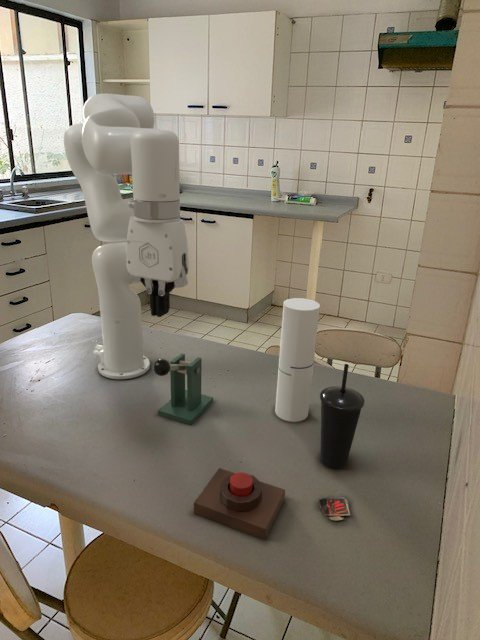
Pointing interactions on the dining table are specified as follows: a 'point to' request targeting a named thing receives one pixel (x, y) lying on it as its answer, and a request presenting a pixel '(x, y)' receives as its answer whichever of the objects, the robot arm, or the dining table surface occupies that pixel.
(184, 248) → the robot arm
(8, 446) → the dining table surface
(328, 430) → the drinking cup
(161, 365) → the switch lever
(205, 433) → the dining table surface
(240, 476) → the button
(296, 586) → the dining table surface
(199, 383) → the switch bracket
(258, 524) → the switch block
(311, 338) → the cylindrical container
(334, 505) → the matchbox
